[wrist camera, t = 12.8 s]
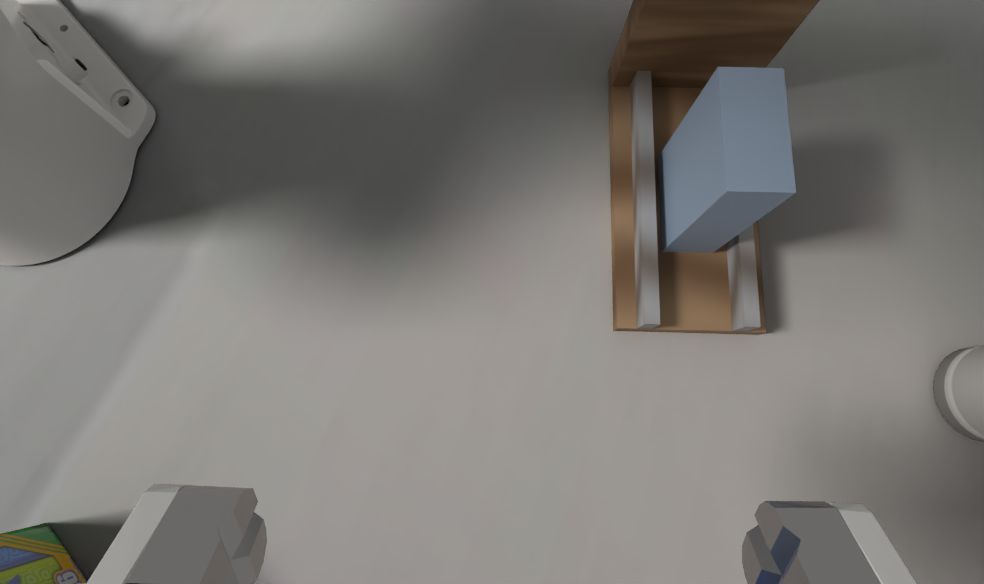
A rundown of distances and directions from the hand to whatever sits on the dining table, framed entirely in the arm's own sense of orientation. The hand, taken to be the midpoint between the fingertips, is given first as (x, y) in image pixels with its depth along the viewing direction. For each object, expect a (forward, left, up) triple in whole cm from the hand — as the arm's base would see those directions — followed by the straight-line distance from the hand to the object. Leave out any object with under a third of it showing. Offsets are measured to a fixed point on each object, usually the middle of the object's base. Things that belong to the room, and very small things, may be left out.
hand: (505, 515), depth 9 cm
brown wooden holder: (-7, +21, -29) cm, 37 cm away
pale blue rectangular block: (-7, +20, -28) cm, 35 cm away
